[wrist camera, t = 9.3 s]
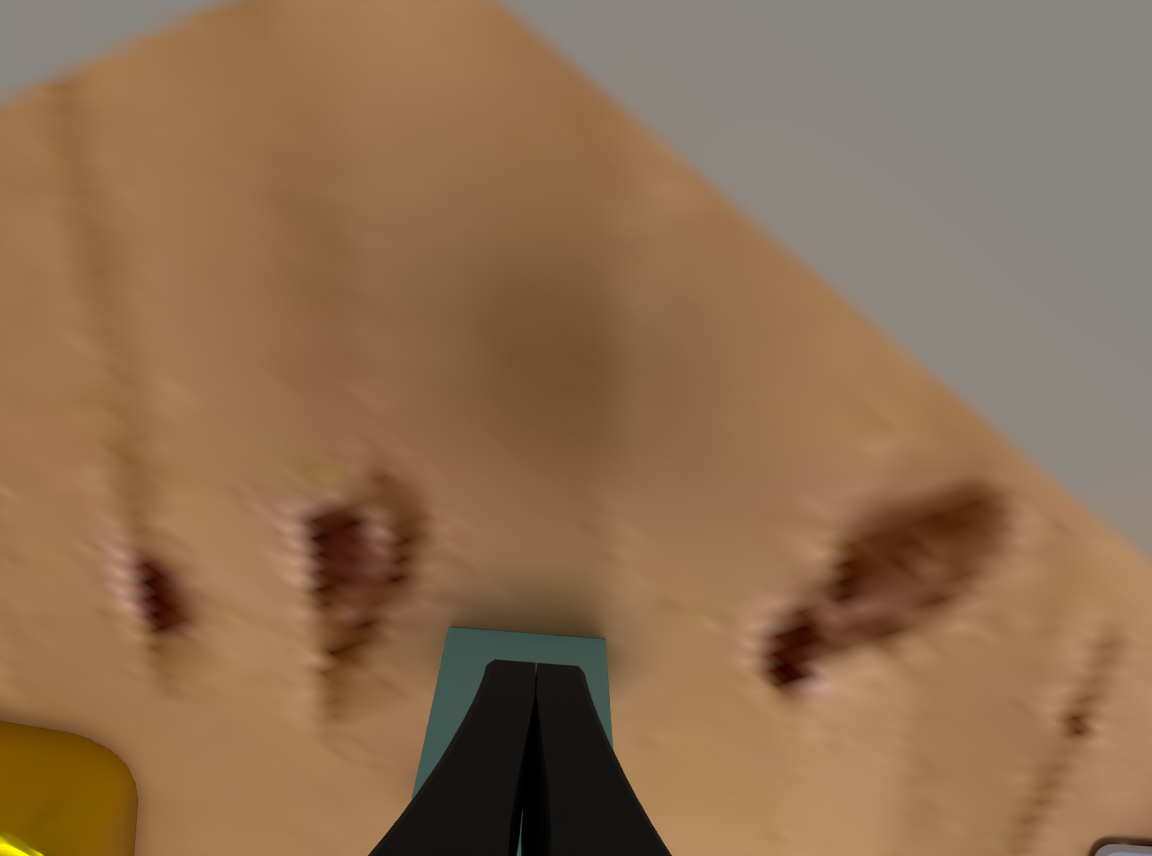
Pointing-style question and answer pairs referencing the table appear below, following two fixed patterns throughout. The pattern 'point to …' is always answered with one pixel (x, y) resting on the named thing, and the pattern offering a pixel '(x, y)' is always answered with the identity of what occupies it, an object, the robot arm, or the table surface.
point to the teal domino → (467, 668)
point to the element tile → (63, 796)
